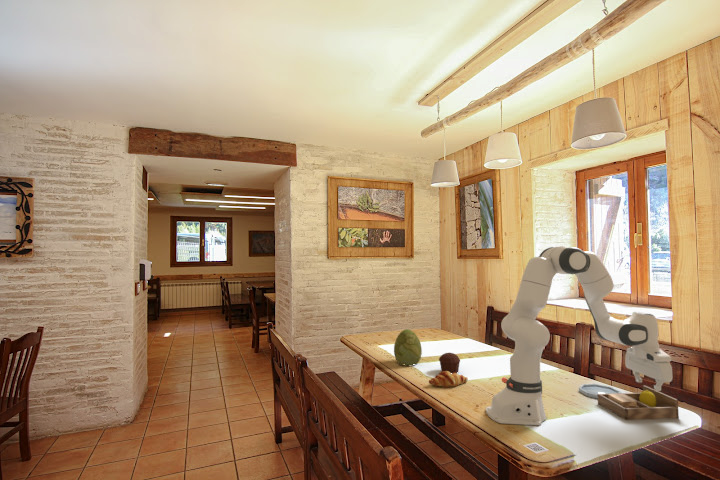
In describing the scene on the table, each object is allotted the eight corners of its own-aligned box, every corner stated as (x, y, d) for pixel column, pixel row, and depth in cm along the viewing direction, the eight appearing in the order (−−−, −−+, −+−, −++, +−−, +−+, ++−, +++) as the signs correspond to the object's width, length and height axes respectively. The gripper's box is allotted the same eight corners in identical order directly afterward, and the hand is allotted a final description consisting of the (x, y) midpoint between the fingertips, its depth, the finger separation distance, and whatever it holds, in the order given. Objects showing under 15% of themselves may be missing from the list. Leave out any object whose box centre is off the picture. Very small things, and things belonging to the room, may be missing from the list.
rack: (625, 419, 145) (625, 401, 145) (597, 403, 161) (597, 386, 161) (678, 418, 145) (677, 399, 146) (645, 401, 161) (644, 385, 162)
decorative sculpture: (393, 367, 217) (393, 332, 217) (394, 359, 233) (393, 326, 234) (422, 367, 215) (421, 332, 215) (421, 359, 231) (420, 326, 232)
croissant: (464, 387, 192) (460, 371, 196) (474, 383, 184) (470, 366, 188) (426, 391, 186) (423, 374, 190) (435, 387, 178) (431, 370, 182)
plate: (594, 400, 164) (594, 396, 164) (572, 387, 180) (572, 384, 180) (630, 399, 164) (630, 395, 164) (604, 386, 180) (604, 383, 180)
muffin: (449, 367, 214) (449, 349, 215) (464, 372, 205) (464, 353, 206) (434, 371, 208) (434, 353, 208) (449, 376, 199) (449, 357, 199)
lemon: (640, 406, 157) (639, 386, 157) (657, 409, 154) (656, 389, 154) (639, 410, 153) (638, 390, 153) (656, 414, 149) (655, 393, 150)
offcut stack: (624, 416, 148) (623, 402, 148) (607, 407, 157) (607, 394, 157) (640, 416, 148) (639, 402, 149) (622, 406, 157) (622, 393, 158)
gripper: (620, 346, 164) (621, 378, 164) (659, 359, 144) (661, 395, 143) (634, 345, 165) (635, 377, 164) (675, 358, 144) (677, 394, 144)
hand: (648, 386), depth 154 cm, fingers open, 8 cm apart
